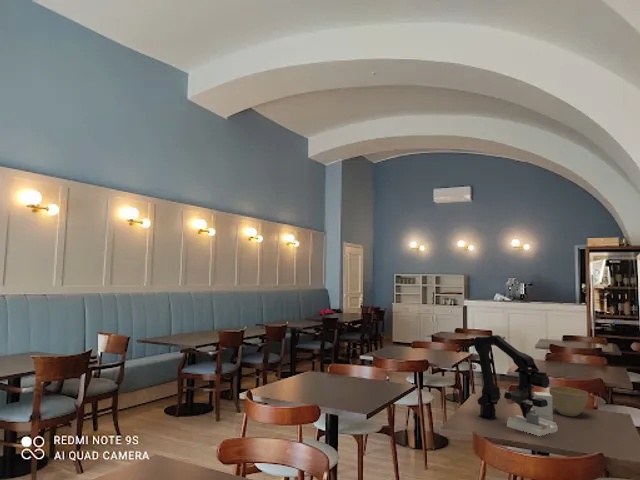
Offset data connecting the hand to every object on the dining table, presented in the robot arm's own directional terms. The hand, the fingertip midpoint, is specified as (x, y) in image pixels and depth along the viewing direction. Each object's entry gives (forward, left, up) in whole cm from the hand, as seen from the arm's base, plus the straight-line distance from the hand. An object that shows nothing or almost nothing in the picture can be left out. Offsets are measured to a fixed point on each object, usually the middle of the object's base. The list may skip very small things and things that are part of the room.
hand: (525, 417), depth 219 cm
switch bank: (+1, +3, -5) cm, 6 cm away
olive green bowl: (-4, +44, -5) cm, 45 cm away
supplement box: (-5, +22, -5) cm, 24 cm away
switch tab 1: (-2, +7, -2) cm, 8 cm away
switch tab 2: (+4, 0, -2) cm, 4 cm away
